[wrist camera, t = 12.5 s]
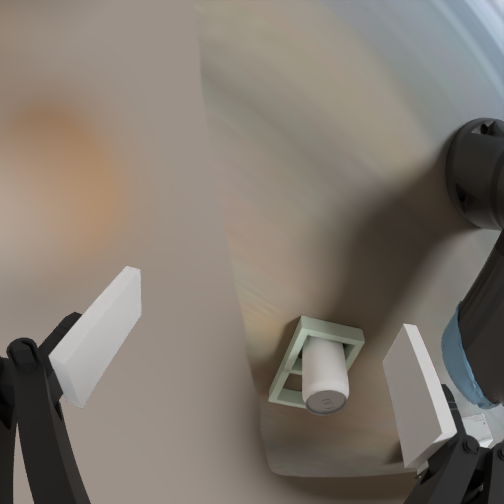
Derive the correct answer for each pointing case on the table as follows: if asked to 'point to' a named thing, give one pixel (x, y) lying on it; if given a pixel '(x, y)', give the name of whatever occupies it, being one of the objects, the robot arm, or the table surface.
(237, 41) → the table surface
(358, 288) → the table surface
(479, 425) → the supplement box
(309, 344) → the can
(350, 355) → the socket board
